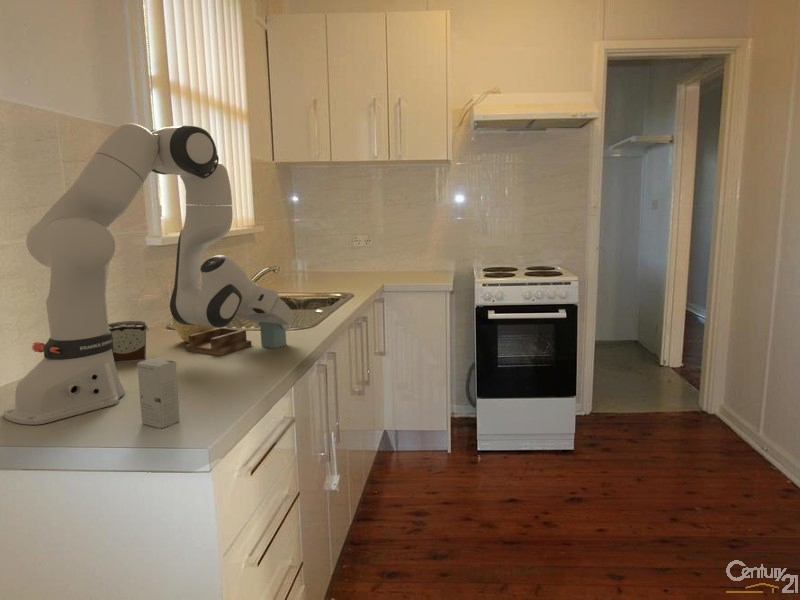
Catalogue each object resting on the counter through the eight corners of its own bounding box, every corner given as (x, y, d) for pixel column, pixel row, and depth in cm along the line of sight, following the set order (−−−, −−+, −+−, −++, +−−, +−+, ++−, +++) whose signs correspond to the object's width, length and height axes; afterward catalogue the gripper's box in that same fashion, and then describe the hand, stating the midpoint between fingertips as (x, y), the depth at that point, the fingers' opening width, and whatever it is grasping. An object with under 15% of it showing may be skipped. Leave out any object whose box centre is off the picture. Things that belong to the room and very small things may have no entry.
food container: (155, 353, 162) (151, 319, 160) (151, 359, 156) (147, 323, 154) (107, 357, 159) (103, 322, 157) (101, 363, 153) (97, 327, 151)
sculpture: (168, 343, 173) (165, 308, 171) (196, 334, 183) (193, 301, 181) (198, 347, 168) (195, 311, 166) (225, 337, 179) (223, 303, 177)
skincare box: (140, 424, 109) (134, 362, 107) (160, 416, 113) (154, 356, 111) (163, 429, 106) (156, 366, 104) (182, 421, 110) (176, 360, 108)
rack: (219, 355, 158) (218, 339, 157) (185, 350, 165) (184, 334, 164) (251, 345, 168) (250, 330, 167) (217, 341, 175) (216, 326, 174)
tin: (274, 348, 164) (272, 313, 162) (261, 346, 167) (258, 312, 165) (286, 344, 168) (284, 310, 167) (273, 342, 171) (271, 309, 169)
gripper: (215, 305, 161) (243, 332, 171) (269, 310, 151) (296, 338, 161) (226, 287, 164) (253, 314, 174) (280, 291, 154) (306, 320, 164)
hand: (274, 326), depth 167 cm, fingers open, 7 cm apart
